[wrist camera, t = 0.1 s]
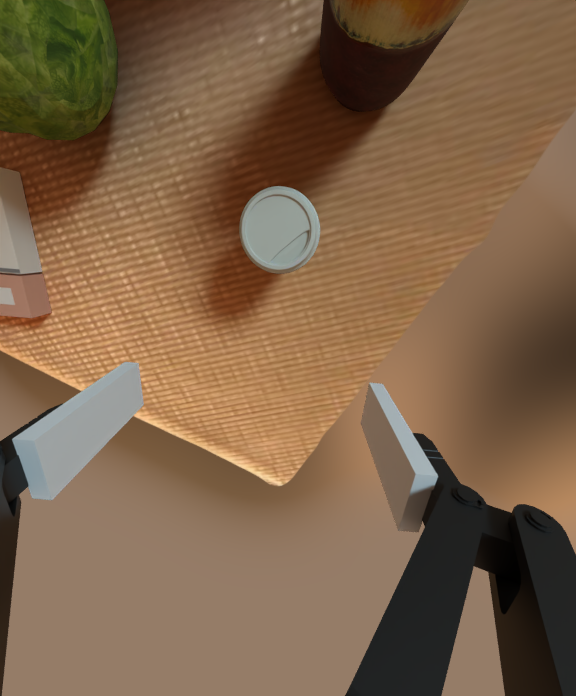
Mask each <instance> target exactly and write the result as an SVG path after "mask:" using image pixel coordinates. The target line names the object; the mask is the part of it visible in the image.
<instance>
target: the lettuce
mask: <svg viewBox="0 0 576 696" xmlns="http://www.w3.org/2000/svg"><path fill="white" fill-rule="evenodd" d="M117 79H118V50H117V45H116V41H115V37H114V32H113V28H112V23H111V19H110V15H109V11H108V9H107V6H106V4H105V2H104V0H0V130H2V131H6V132H11V133H30V134H32V135H35V136H38V137H41V138H44V139H47V140H75V139H77V138H79V137H81V136H84V135H86V134H88V133H90V132H92V131H94V130H95V129H96V128H97V126H98V125H99V124H100V123H101V121H102V120H103V119H104V117H105V116H106V115H107V114H108V112H109V111H110V107H111V104H112V101H113V98H114V94H115V91H116V88H117Z"/></svg>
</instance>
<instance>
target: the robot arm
mask: <svg viewBox="0 0 576 696" xmlns="http://www.w3.org/2000/svg"><path fill="white" fill-rule="evenodd" d="M143 405H144V403H143V395H142V387H141V379H140V371H139V363H132V362H124V363H123V364H121V365H120V366H118V367H117V368H115V369H114V370H112V371H111V372H110V373H108V374H107V375H105V376H104V377H102V378H101V379H99V380H98V381H96V382H95V383H93V384H92V385H90V386H89V387H88V388H86V389H85V390H83V391H82V392H80V393H79V394H77V395H76V396H75V397H73V398H71V399H70V400H69V401H67V402H66V403H64V404H60V405H58V406H55V407H53V408H51V409H48V410H47V411H45V412H44V413H42V414H41V415H39V416H38V417H37V418H35V419H33V420H32V421H30V422H29V423H28V424H26V425H24V426H23V427H21V428H20V429H18V430H17V431H15V432H14V433H12V434H11V435H9V436H7V437H6V438H4V439H3V440H2V441H0V696H2V686H3V676H4V666H5V656H6V647H7V636H8V627H9V616H10V607H11V597H12V587H13V578H14V567H15V557H16V548H17V538H18V528H19V518H20V509H21V500H20V497H19V494H20V493H21V492H22V491H24V490H25V489H26V488H27V487H28V488H29V491H30V494H31V497H32V498H33V499H45V500H53V499H54V498H55V497H56V496H57V495H58V494H59V492H60V491H61V490H62V489H63V488H64V487H65V486H66V485H67V484H68V483H69V482H70V481H71V480H72V479H73V478H74V477H75V476H76V475H77V474H78V473H79V472H80V471H81V469H82V468H83V467H84V466H85V465H86V464H87V463H88V462H89V461H90V460H91V459H92V458H93V457H94V456H95V455H96V454H97V453H98V452H99V451H100V450H101V449H102V448H103V447H104V446H105V444H106V443H107V442H108V441H109V440H110V439H111V438H112V437H113V436H114V435H115V434H116V433H117V432H118V431H119V430H120V429H121V428H122V427H123V425H125V424H126V423H127V422H128V421H129V419H130V418H131V417H132V416H133V415H134V414H135V413H136V412H137V411H138V410H139V409H140V408H141V407H142V406H143ZM361 425H362V428H363V431H364V434H365V437H366V440H367V443H368V445H369V448H370V451H371V454H372V457H373V460H374V463H375V465H376V468H377V471H378V474H379V477H380V480H381V483H382V486H383V489H384V491H385V494H386V497H387V500H388V503H389V506H390V508H391V511H392V514H393V517H394V520H395V523H396V526H397V529H398V531H409V532H419V529H420V527H421V524H422V521H423V523H424V525H425V529H424V531H423V533H422V535H421V537H420V539H419V541H418V543H417V545H416V548H415V550H414V552H413V554H412V556H411V558H410V560H409V562H408V564H407V567H406V569H405V571H404V573H403V575H402V577H401V579H400V581H399V584H398V586H397V588H396V590H395V592H394V594H393V596H392V599H391V601H390V603H389V605H388V607H387V609H386V611H385V613H384V615H383V617H382V620H381V622H380V624H379V626H378V628H377V630H376V632H375V634H374V636H373V639H372V641H371V643H370V645H369V647H368V649H367V651H366V653H365V656H364V658H363V660H362V662H361V664H360V666H359V668H358V670H357V673H356V675H355V677H354V679H353V681H352V683H351V685H350V687H349V689H348V691H347V693H346V695H345V696H441V694H442V690H443V686H444V682H445V678H446V674H447V670H448V666H449V662H450V658H451V654H452V650H453V646H454V642H455V638H456V634H457V630H458V626H459V622H460V618H461V614H462V610H463V606H464V602H465V598H466V594H467V590H468V586H469V582H470V578H471V574H472V570H473V566H475V567H478V568H480V569H483V570H485V571H488V573H489V579H490V587H491V594H492V601H493V609H494V617H495V624H496V630H497V639H498V645H499V654H500V661H501V668H502V675H503V683H504V690H505V696H576V554H575V552H574V550H573V548H572V545H571V543H570V541H569V538H568V536H567V534H566V532H565V530H564V529H563V528H562V526H561V525H560V524H559V523H558V522H557V521H556V520H555V519H554V518H553V517H551V516H550V515H548V514H547V513H545V512H544V511H542V510H539V509H537V508H535V507H533V506H529V505H525V504H519V505H517V506H516V507H514V509H513V511H512V513H510V512H507V511H504V510H501V509H498V508H495V507H492V506H489V505H487V504H486V502H485V501H484V499H483V498H482V497H481V496H480V495H479V494H478V493H477V492H475V491H474V490H472V489H471V488H469V487H467V486H465V485H462V484H461V483H460V482H459V481H458V479H457V478H456V476H455V475H454V473H453V472H452V470H451V469H450V467H449V466H448V465H447V463H446V461H445V460H444V459H443V457H442V456H441V454H440V452H438V450H437V448H436V447H435V445H434V444H433V442H432V441H431V440H429V439H428V438H427V437H426V436H425V435H423V434H418V433H412V432H411V430H410V429H409V427H408V425H407V423H406V422H405V420H404V419H403V417H402V415H401V414H400V412H399V410H398V409H397V407H396V405H395V404H394V402H393V400H392V399H391V397H390V395H389V394H388V392H387V390H386V389H385V387H384V385H383V384H378V383H369V386H368V391H367V396H366V401H365V406H364V411H363V415H362V420H361Z"/></svg>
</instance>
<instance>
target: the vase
mask: <svg viewBox="0 0 576 696" xmlns="http://www.w3.org/2000/svg"><path fill="white" fill-rule="evenodd" d="M468 1H469V0H324V4H323V14H322V24H321V37H320V63H321V68H322V73H323V76H324V79H325V82H326V84H327V86H328V87H329V89H330V91H331V92H332V94H333V95H334V96H335V98H336V99H337V100H338V101H339V102H340V103H341V104H342V105H343V106H345V107H346V108H348V109H350V110H353V111H358V112H365V111H372V110H377V109H380V108H382V107H385V106H386V105H388V104H390V103H392V102H393V101H394V100H395V99H397V98H398V97H399V96H400V95H401V94H402V93H403V92H404V90H405V89H406V88H407V87H408V85H409V84H410V83H411V82H412V80H413V79H414V78H415V76H416V75H417V73H418V72H419V71H420V69H421V68H422V66H423V65H424V63H425V62H426V61H427V59H428V58H429V56H430V55H431V54H432V52H433V51H434V49H435V48H436V47H437V45H438V44H439V42H440V41H441V39H442V38H443V37H444V35H445V34H446V32H447V31H448V30H449V28H450V27H451V25H452V24H453V22H454V21H455V20H456V18H457V17H458V15H459V14H460V12H461V11H462V10H463V8H464V7H465V5H466V4H467V2H468Z"/></svg>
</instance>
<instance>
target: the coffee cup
mask: <svg viewBox="0 0 576 696" xmlns="http://www.w3.org/2000/svg"><path fill="white" fill-rule="evenodd" d="M239 234H240V240H241V244H242V246H243V249H244V251H245V253H246V254H247V256H248V257H249V259H250V260H251V261H252V262H253V263H254V264H255V265H257V266H258V267H259V268H261V269H263V270H265V271H267V272H271V273H276V274H284V273H289V272H293V271H295V270H297V269H299V268H301V267H302V266H303V265H305V264H306V263H307V262H308V261H309V260H310V258H311V257H312V256H313V254H314V252H315V250H316V248H317V245H318V242H319V237H320V224H319V219H318V215H317V213H316V210H315V208H314V207H313V205H312V204H311V202H310V201H309V200H308V199H307V198H306V197H305V196H304V195H303V194H302V193H300V192H299V191H297V190H295V189H292V188H289V187H284V186H275V187H270V188H266V189H264V190H262V191H260V192H258V193H257V194H256V195H254V196H253V197H252V198H251V199H250V200H249V202H248V203H247V204H246V206H245V208H244V210H243V212H242V215H241V219H240V225H239Z"/></svg>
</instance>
